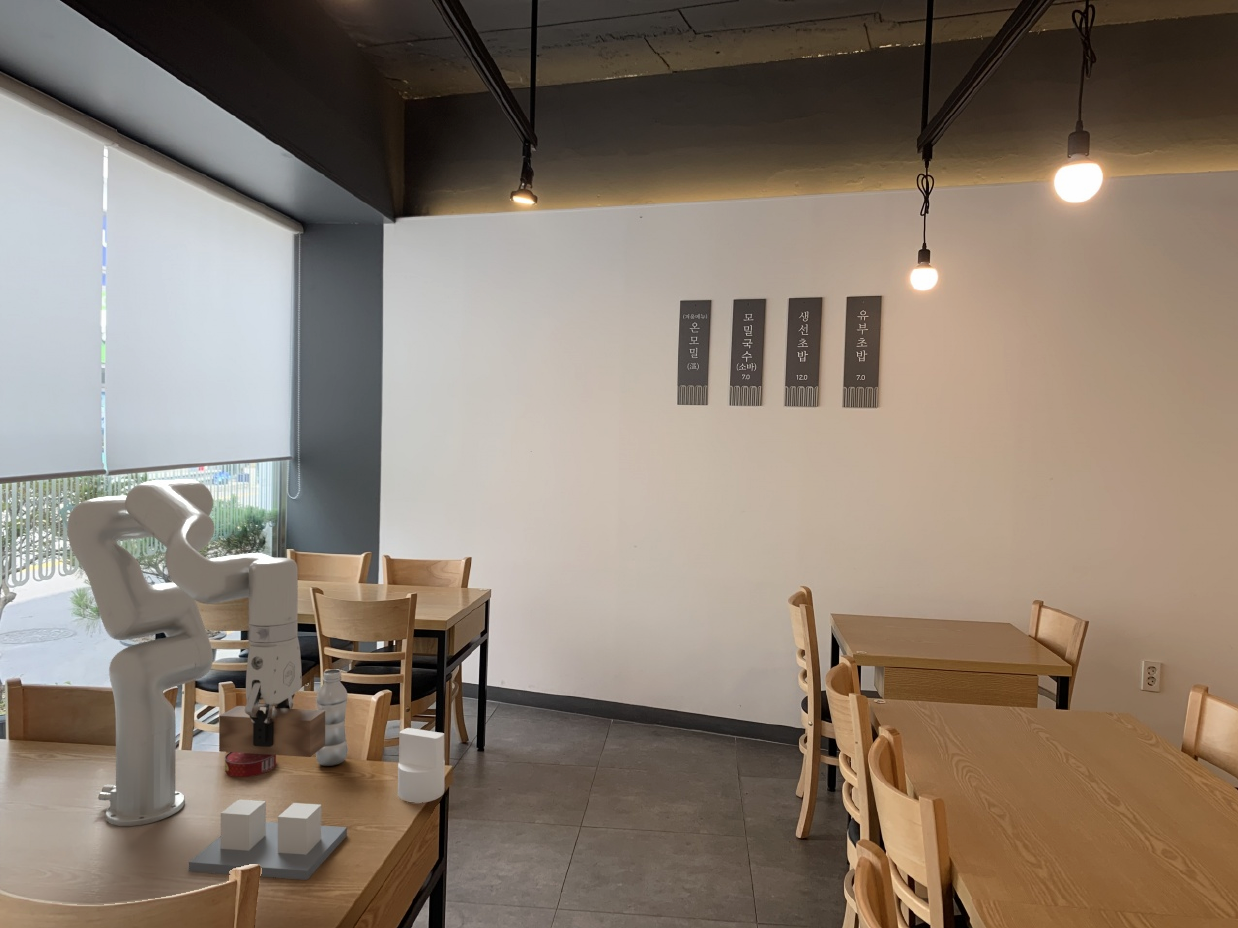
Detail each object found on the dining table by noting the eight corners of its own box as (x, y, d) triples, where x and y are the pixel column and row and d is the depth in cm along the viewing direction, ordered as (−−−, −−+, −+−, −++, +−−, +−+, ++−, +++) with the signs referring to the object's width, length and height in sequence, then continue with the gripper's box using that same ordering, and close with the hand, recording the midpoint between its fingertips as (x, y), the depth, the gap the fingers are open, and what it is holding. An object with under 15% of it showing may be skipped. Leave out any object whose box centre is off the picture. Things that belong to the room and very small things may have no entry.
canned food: (240, 781, 167) (249, 733, 172) (282, 780, 166) (290, 731, 170) (206, 777, 157) (217, 726, 162) (251, 775, 156) (261, 724, 160)
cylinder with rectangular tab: (452, 786, 156) (453, 728, 155) (428, 806, 147) (428, 744, 147) (414, 779, 159) (415, 722, 158) (388, 798, 150) (388, 737, 150)
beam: (219, 751, 128) (219, 715, 128) (237, 739, 133) (237, 705, 133) (310, 756, 126) (310, 720, 126) (325, 745, 131) (325, 710, 131)
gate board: (188, 871, 124) (188, 825, 123) (239, 828, 137) (239, 786, 137) (307, 879, 122) (307, 833, 121) (346, 835, 136) (347, 793, 135)
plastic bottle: (352, 757, 169) (353, 667, 169) (338, 770, 162) (339, 676, 162) (324, 756, 170) (325, 666, 169) (309, 768, 163) (310, 675, 163)
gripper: (266, 645, 120) (266, 760, 121) (318, 621, 137) (318, 722, 137) (221, 644, 121) (221, 758, 121) (278, 620, 138) (278, 720, 138)
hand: (272, 737), depth 129 cm, fingers closed on beam, 5 cm apart
